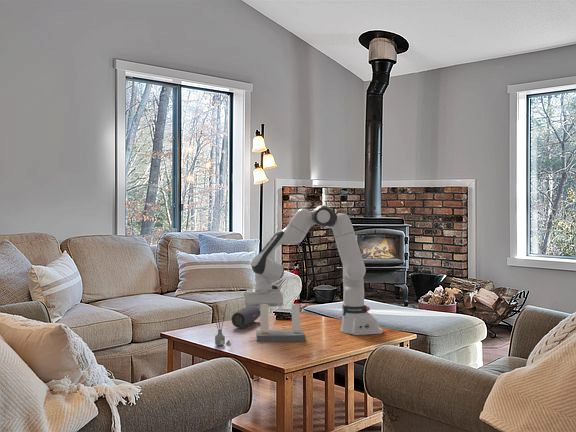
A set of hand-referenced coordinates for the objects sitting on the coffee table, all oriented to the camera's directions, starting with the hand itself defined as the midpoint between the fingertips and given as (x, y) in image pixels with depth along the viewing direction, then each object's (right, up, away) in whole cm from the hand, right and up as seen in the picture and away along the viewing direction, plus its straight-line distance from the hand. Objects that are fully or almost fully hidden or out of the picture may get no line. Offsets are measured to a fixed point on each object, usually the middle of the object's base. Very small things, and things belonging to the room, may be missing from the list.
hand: (264, 312), depth 314 cm
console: (+8, -12, -7) cm, 16 cm away
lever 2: (+16, -9, -6) cm, 20 cm away
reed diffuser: (-21, -13, -20) cm, 31 cm away
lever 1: (+1, -9, -7) cm, 12 cm away
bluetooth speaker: (-11, -11, +23) cm, 28 cm away
